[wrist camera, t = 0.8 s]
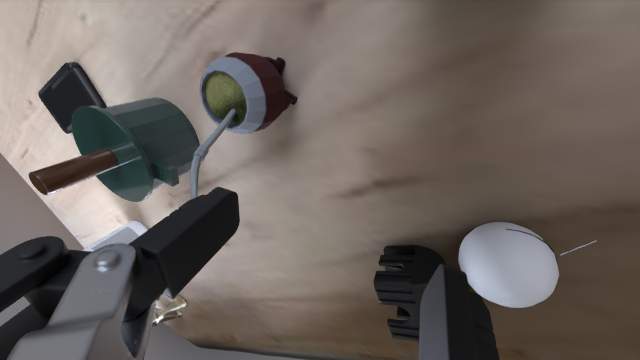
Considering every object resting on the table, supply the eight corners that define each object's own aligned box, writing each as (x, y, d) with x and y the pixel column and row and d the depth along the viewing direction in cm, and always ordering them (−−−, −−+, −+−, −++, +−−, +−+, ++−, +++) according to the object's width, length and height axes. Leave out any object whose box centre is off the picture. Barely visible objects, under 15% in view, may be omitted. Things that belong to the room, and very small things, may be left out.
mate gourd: (256, 37, 26) (99, 37, 14) (319, 77, 26) (210, 111, 14) (239, 101, 31) (108, 142, 19) (293, 136, 30) (193, 203, 18)
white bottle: (155, 250, 58) (59, 321, 43) (132, 234, 59) (31, 299, 44) (153, 230, 54) (47, 301, 40) (128, 214, 55) (17, 278, 41)
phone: (100, 111, 40) (66, 135, 48) (108, 109, 41) (73, 133, 49) (67, 59, 38) (36, 93, 45) (76, 59, 39) (44, 92, 46)
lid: (69, 90, 31) (-34, 104, 24) (149, 124, 28) (58, 152, 21) (98, 176, 37) (24, 206, 31) (164, 211, 35) (98, 252, 28)
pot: (120, 81, 37) (53, 90, 31) (214, 118, 34) (160, 138, 27) (135, 150, 44) (82, 169, 37) (215, 187, 40) (172, 216, 33)
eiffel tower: (151, 293, 71) (36, 394, 51) (154, 276, 65) (24, 384, 45) (180, 316, 71) (76, 428, 50) (186, 302, 64) (70, 422, 44)
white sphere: (471, 269, 29) (478, 329, 23) (445, 217, 27) (446, 266, 21) (590, 256, 24) (640, 329, 18) (567, 189, 22) (614, 245, 16)
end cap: (459, 305, 32) (462, 360, 26) (401, 300, 35) (394, 348, 30) (444, 240, 29) (445, 288, 23) (382, 242, 32) (370, 284, 27)
